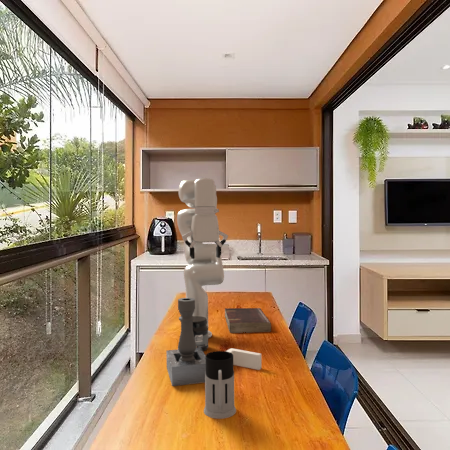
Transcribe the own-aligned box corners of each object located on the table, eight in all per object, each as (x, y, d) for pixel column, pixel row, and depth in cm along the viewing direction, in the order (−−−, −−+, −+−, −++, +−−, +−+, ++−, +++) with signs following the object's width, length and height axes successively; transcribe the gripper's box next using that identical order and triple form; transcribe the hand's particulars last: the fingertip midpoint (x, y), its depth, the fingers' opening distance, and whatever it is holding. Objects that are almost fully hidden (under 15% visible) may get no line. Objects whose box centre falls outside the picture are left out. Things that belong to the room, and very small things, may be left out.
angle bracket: (208, 364, 146) (207, 350, 145) (253, 359, 150) (253, 346, 150) (214, 374, 136) (214, 359, 136) (262, 369, 140) (262, 354, 140)
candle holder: (179, 379, 133) (178, 301, 132) (176, 372, 139) (175, 298, 138) (198, 376, 134) (197, 300, 134) (194, 370, 140) (193, 297, 140)
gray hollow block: (166, 367, 143) (166, 350, 143) (200, 364, 146) (200, 347, 146) (172, 386, 127) (171, 366, 127) (210, 381, 130) (209, 363, 130)
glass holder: (235, 402, 116) (234, 349, 115) (238, 429, 101) (237, 368, 101) (203, 403, 115) (203, 350, 115) (202, 430, 101) (202, 369, 101)
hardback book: (271, 332, 186) (271, 321, 185) (229, 334, 184) (229, 322, 184) (260, 317, 214) (260, 307, 214) (224, 318, 213) (224, 308, 213)
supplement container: (192, 343, 170) (191, 314, 169) (213, 347, 164) (213, 317, 164) (176, 350, 161) (175, 320, 160) (198, 355, 155) (198, 323, 155)
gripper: (224, 212, 159) (225, 256, 159) (180, 212, 154) (180, 258, 154) (230, 211, 152) (230, 257, 152) (183, 211, 147) (184, 259, 147)
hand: (205, 257), depth 153 cm, fingers open, 9 cm apart
